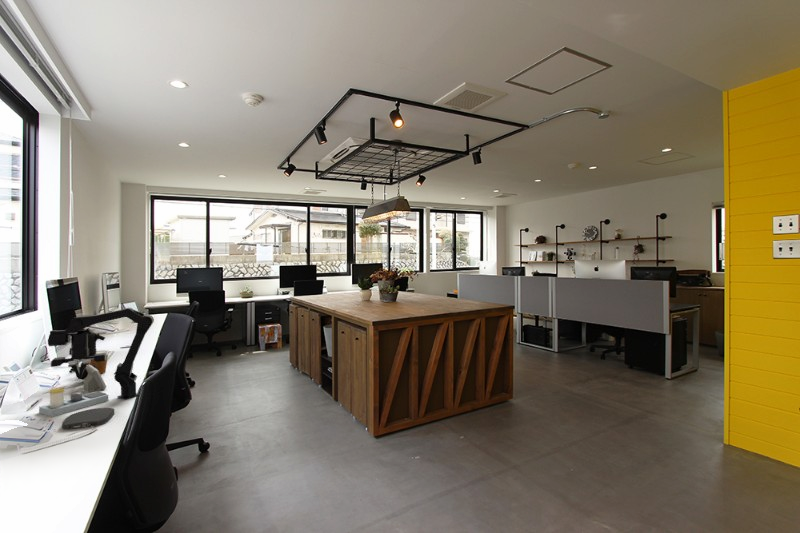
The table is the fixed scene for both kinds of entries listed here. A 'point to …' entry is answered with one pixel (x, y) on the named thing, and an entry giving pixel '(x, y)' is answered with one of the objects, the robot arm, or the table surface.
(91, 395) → the pad
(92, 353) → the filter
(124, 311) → the robot arm
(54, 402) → the cartridge
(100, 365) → the disposable coffee cup
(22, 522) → the table surface
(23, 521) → the table surface
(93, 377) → the grey triangular stone
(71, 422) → the media streaming box
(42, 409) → the housing
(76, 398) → the plunger
